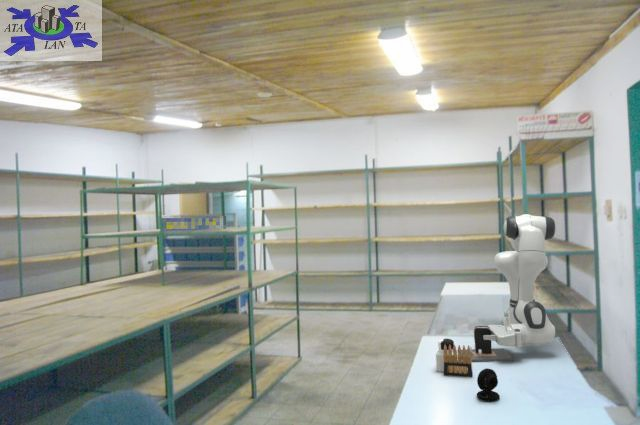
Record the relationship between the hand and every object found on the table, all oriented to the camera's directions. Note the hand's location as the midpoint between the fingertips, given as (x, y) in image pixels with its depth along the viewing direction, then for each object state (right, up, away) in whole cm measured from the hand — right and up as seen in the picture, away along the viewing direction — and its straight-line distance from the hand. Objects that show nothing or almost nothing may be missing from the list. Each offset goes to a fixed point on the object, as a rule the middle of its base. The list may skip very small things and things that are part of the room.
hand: (481, 334), depth 215 cm
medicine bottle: (-18, -11, -13) cm, 25 cm away
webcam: (-11, -11, -43) cm, 46 cm away
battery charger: (+2, -8, +2) cm, 8 cm away
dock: (+1, -9, 0) cm, 9 cm away
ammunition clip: (-15, -11, -20) cm, 28 cm away
